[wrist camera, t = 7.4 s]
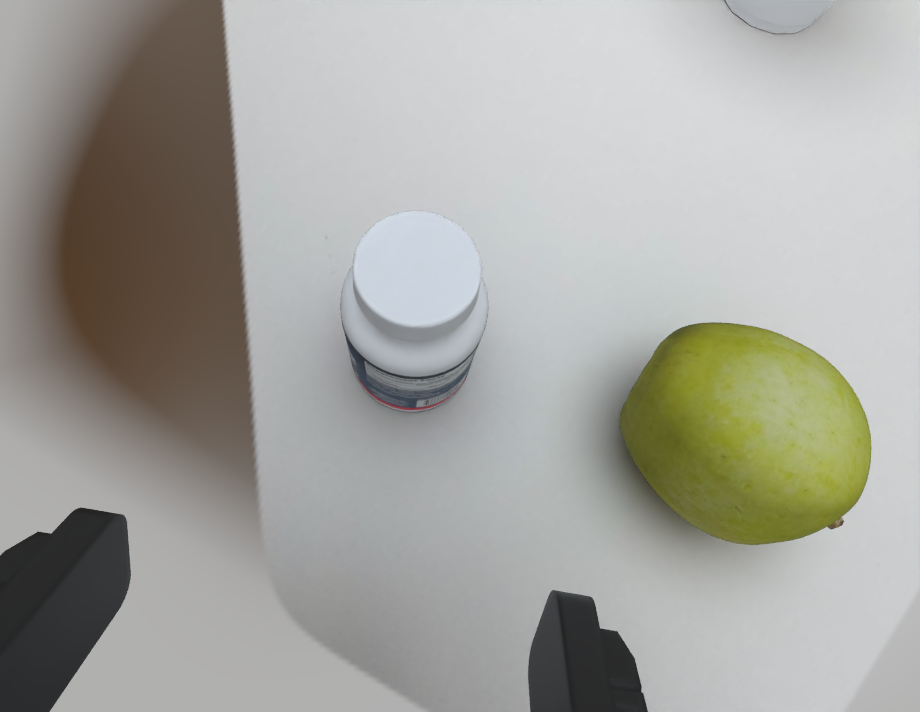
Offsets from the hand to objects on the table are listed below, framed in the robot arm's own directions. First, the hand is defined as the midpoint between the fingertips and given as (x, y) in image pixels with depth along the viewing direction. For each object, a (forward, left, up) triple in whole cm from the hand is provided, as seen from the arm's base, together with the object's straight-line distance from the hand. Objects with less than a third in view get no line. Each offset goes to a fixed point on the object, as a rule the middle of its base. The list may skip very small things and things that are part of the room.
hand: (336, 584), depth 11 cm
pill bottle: (0, +9, -13) cm, 16 cm away
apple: (+13, +7, -13) cm, 20 cm away
